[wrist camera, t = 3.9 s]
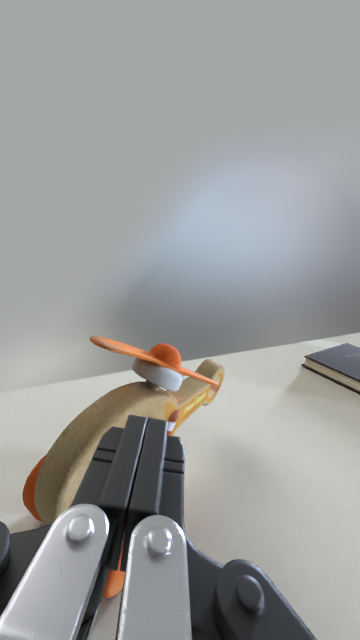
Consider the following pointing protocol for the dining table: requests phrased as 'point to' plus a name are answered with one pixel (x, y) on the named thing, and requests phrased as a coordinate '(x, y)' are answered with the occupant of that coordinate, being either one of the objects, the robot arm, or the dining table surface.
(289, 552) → the dining table surface
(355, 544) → the dining table surface
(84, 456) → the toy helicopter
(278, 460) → the dining table surface
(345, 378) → the hardcover book
